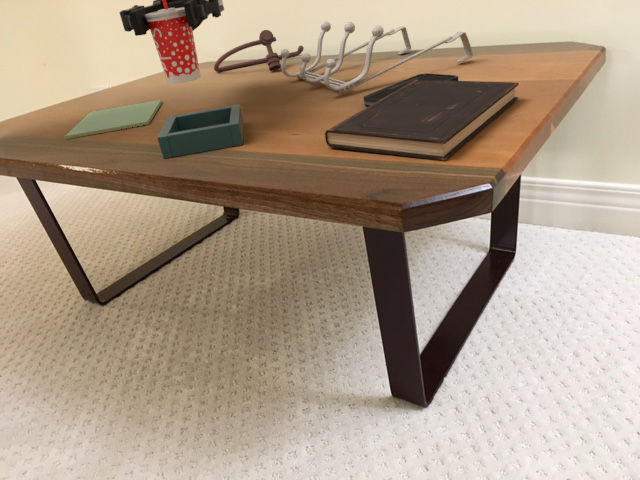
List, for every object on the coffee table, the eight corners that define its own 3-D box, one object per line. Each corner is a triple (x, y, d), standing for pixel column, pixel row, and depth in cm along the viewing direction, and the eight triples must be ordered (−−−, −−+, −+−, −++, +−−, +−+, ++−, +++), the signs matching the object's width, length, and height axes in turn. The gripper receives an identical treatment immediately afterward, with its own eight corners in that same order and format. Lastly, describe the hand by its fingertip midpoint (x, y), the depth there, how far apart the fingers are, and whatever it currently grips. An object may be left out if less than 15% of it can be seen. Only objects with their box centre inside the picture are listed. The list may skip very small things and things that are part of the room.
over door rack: (281, 82, 106) (272, 30, 101) (407, 51, 115) (403, 2, 111) (329, 100, 88) (321, 38, 84) (473, 62, 97) (472, 4, 93)
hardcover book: (517, 99, 74) (518, 82, 73) (445, 161, 58) (444, 141, 57) (412, 94, 83) (411, 79, 82) (326, 147, 67) (323, 129, 66)
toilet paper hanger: (299, 47, 131) (309, 19, 117) (309, 80, 131) (320, 56, 117) (212, 65, 126) (212, 38, 113) (222, 99, 126) (223, 76, 113)
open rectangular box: (163, 158, 74) (157, 137, 72) (173, 135, 83) (168, 116, 82) (243, 144, 74) (238, 123, 73) (244, 123, 84) (239, 104, 82)
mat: (66, 139, 91) (65, 135, 91) (91, 114, 105) (89, 111, 105) (148, 124, 92) (147, 121, 91) (162, 102, 106) (161, 99, 105)
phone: (461, 75, 85) (399, 102, 77) (461, 83, 86) (400, 109, 77) (421, 73, 90) (359, 97, 82) (421, 79, 91) (360, 104, 83)
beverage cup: (161, 80, 78) (131, -28, 71) (203, 72, 79) (178, -35, 72) (163, 87, 72) (131, -28, 66) (208, 78, 74) (182, -36, 67)
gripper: (246, 20, 90) (244, 38, 69) (132, 39, 89) (96, 63, 69) (236, -30, 86) (231, -26, 66) (117, -11, 85) (75, -1, 65)
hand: (162, 19), depth 67 cm, fingers closed on beverage cup, 6 cm apart
